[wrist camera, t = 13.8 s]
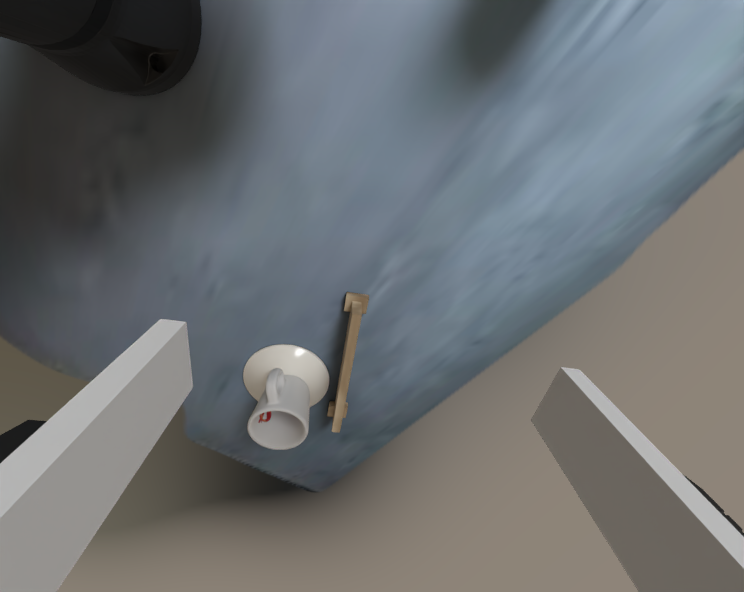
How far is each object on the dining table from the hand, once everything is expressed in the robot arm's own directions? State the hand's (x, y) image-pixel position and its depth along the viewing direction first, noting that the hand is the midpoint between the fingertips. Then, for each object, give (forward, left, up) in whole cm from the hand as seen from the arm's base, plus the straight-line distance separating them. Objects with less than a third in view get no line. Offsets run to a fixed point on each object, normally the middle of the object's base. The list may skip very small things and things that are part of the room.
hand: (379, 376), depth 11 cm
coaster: (-8, -27, -29) cm, 40 cm away
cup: (-7, -27, -28) cm, 40 cm away
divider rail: (+1, -22, -29) cm, 36 cm away
